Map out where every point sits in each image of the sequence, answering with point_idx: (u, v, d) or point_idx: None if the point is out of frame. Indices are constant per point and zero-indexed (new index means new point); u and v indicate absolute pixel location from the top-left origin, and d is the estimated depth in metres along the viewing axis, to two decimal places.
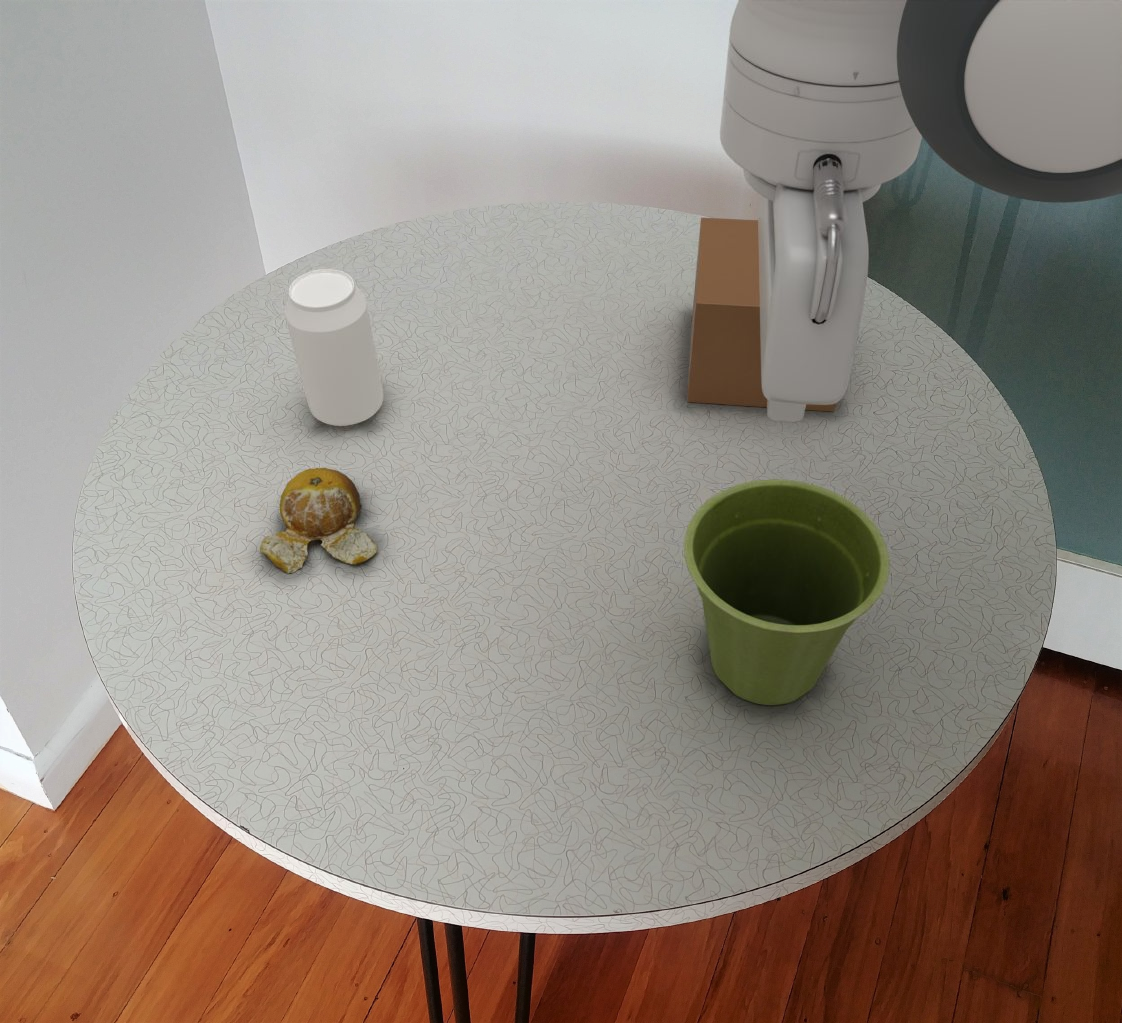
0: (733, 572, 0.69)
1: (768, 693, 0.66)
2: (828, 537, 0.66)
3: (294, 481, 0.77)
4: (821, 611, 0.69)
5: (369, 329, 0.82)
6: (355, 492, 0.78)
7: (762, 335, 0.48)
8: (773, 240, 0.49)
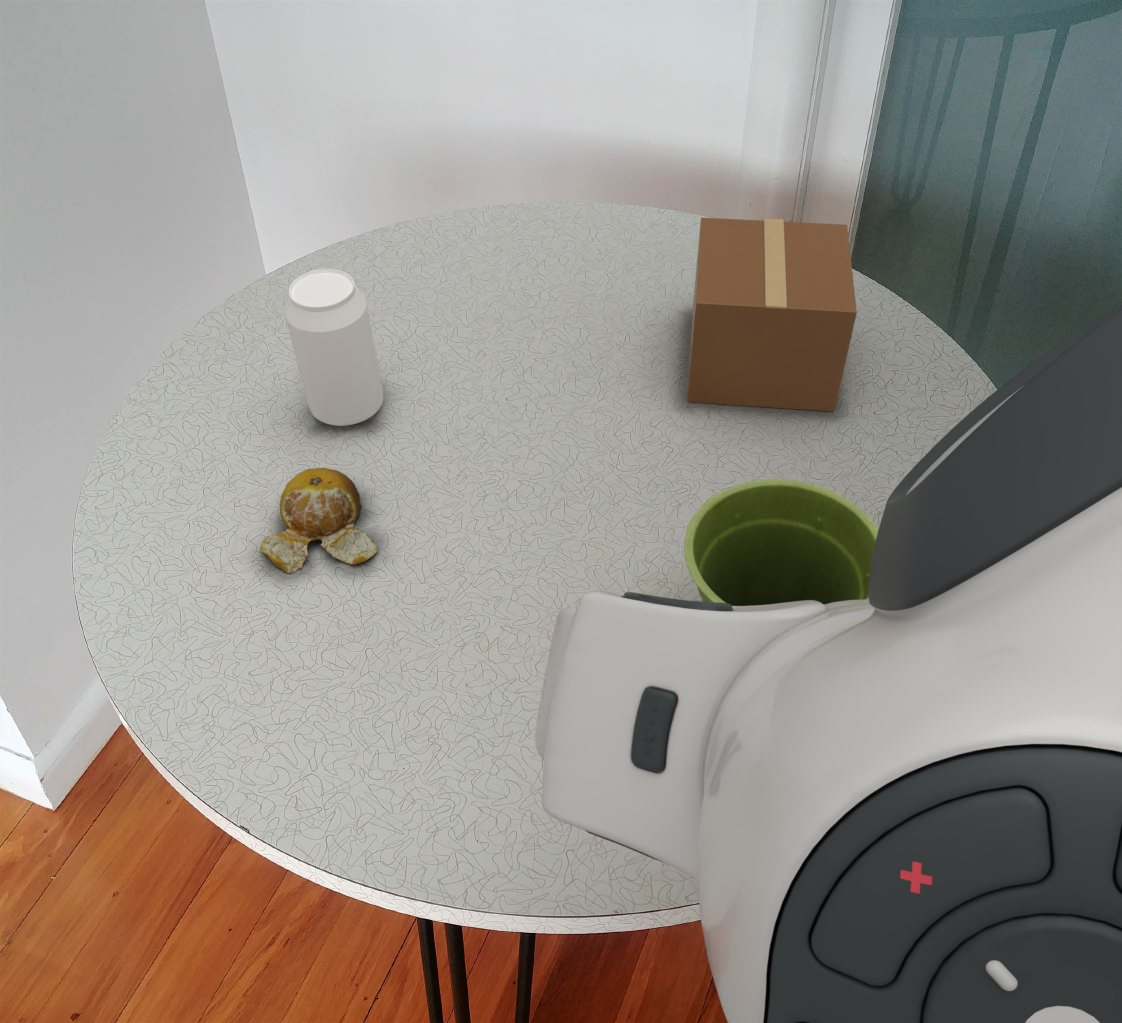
0: (733, 572, 0.69)
1: None
2: (829, 537, 0.66)
3: (294, 481, 0.77)
4: None
5: (369, 329, 0.82)
6: (355, 492, 0.78)
7: None
8: None
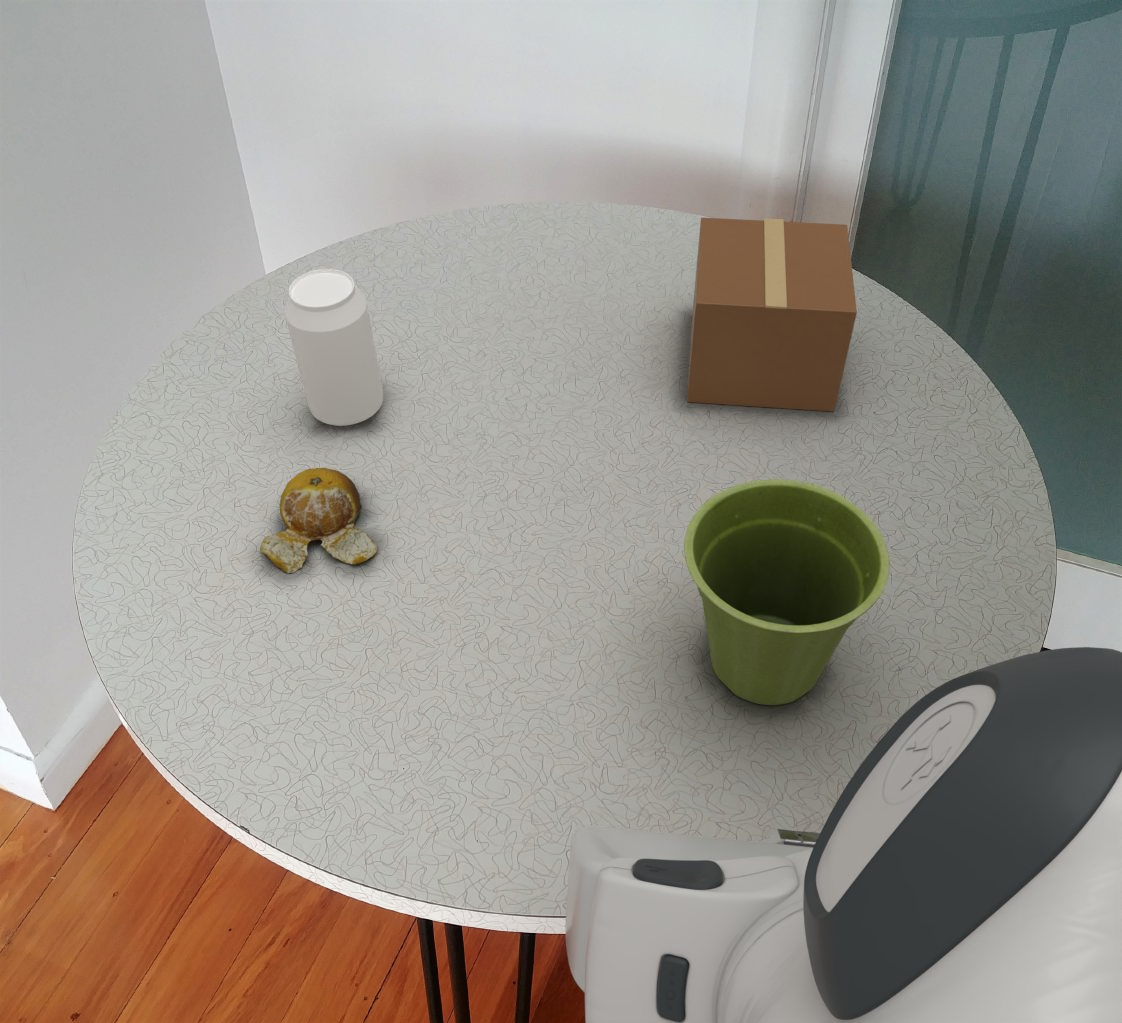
0: (733, 572, 0.69)
1: (768, 693, 0.66)
2: (829, 537, 0.66)
3: (294, 481, 0.77)
4: (821, 611, 0.69)
5: (369, 329, 0.82)
6: (355, 492, 0.78)
7: None
8: None
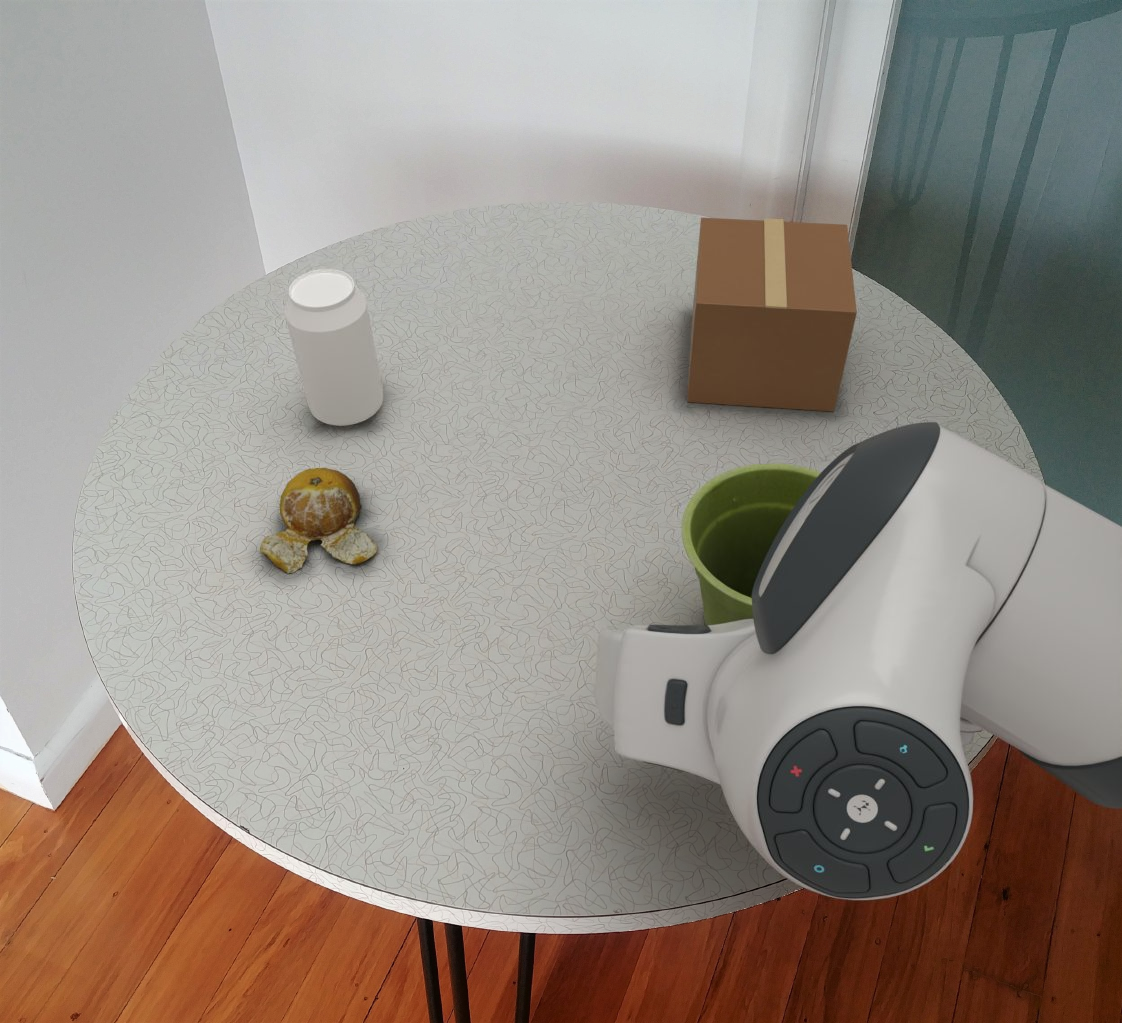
0: (731, 555, 0.70)
1: None
2: None
3: (294, 481, 0.77)
4: None
5: (369, 329, 0.82)
6: (355, 492, 0.78)
7: None
8: None
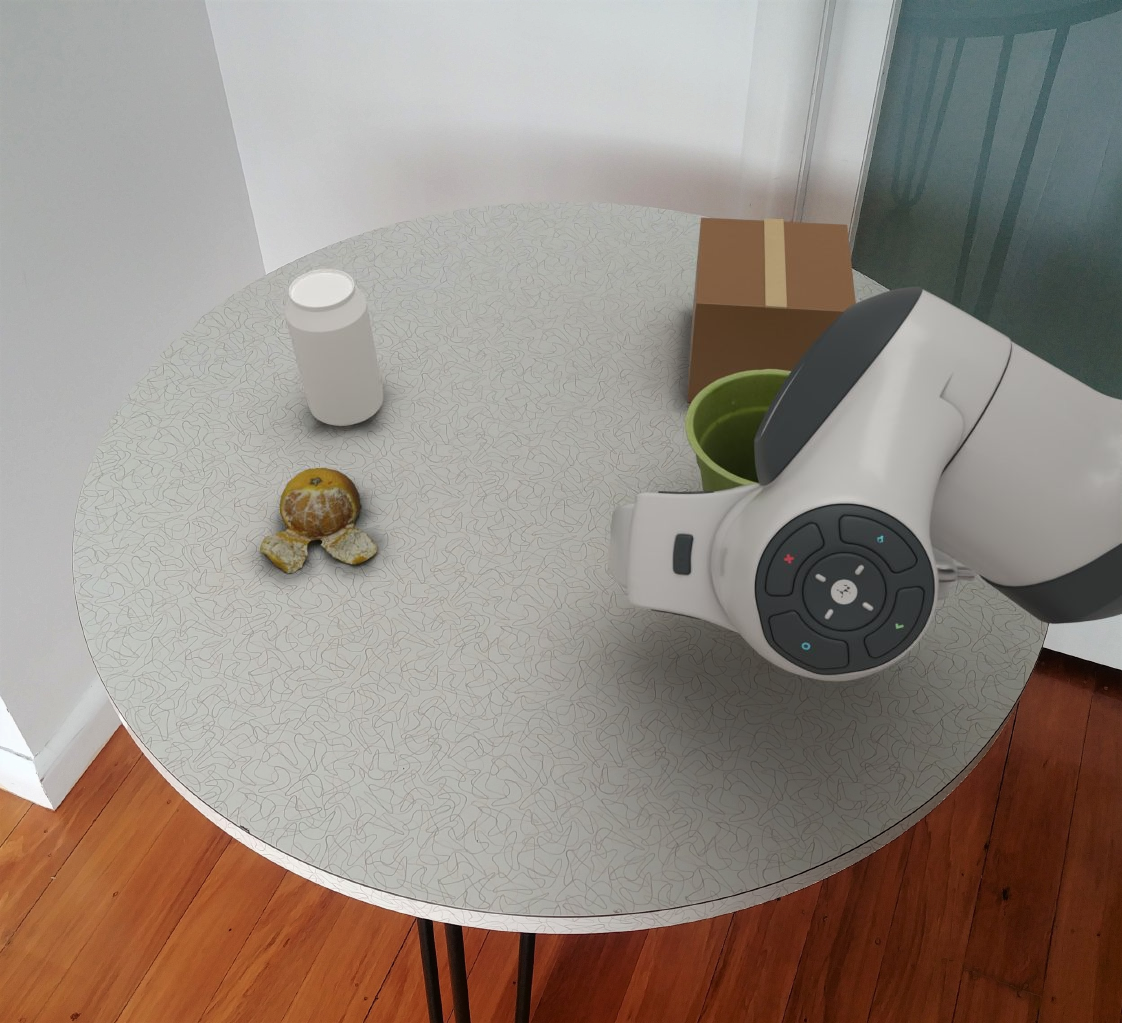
0: (730, 457, 0.76)
1: None
2: None
3: (294, 481, 0.77)
4: None
5: (369, 329, 0.82)
6: (355, 492, 0.78)
7: None
8: None
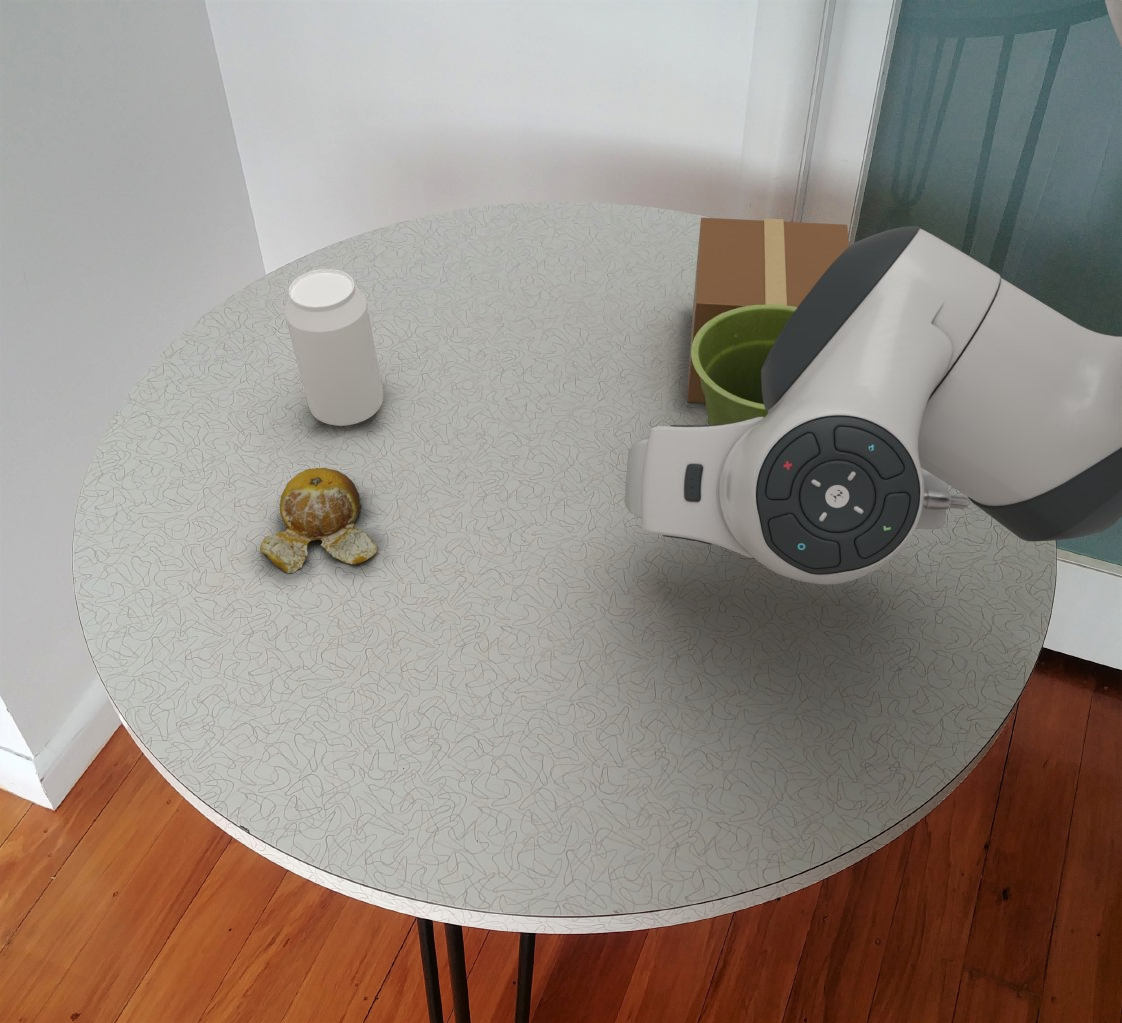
0: (732, 389, 0.81)
1: None
2: None
3: (294, 481, 0.77)
4: None
5: (369, 329, 0.82)
6: (355, 492, 0.78)
7: None
8: None
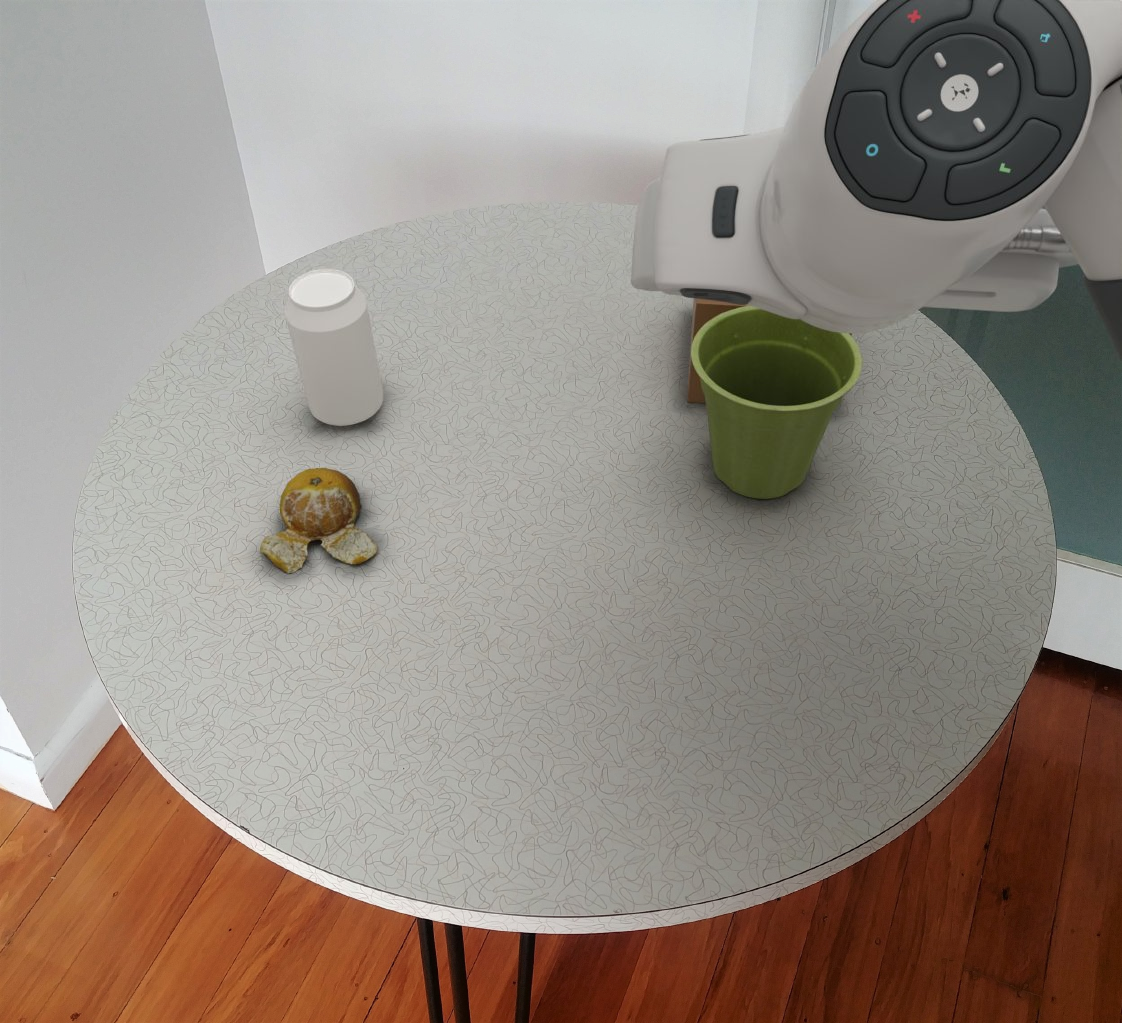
0: (732, 389, 0.81)
1: (761, 485, 0.78)
2: (813, 354, 0.79)
3: (294, 481, 0.77)
4: None
5: (369, 329, 0.82)
6: (355, 492, 0.78)
7: (960, 306, 0.53)
8: None
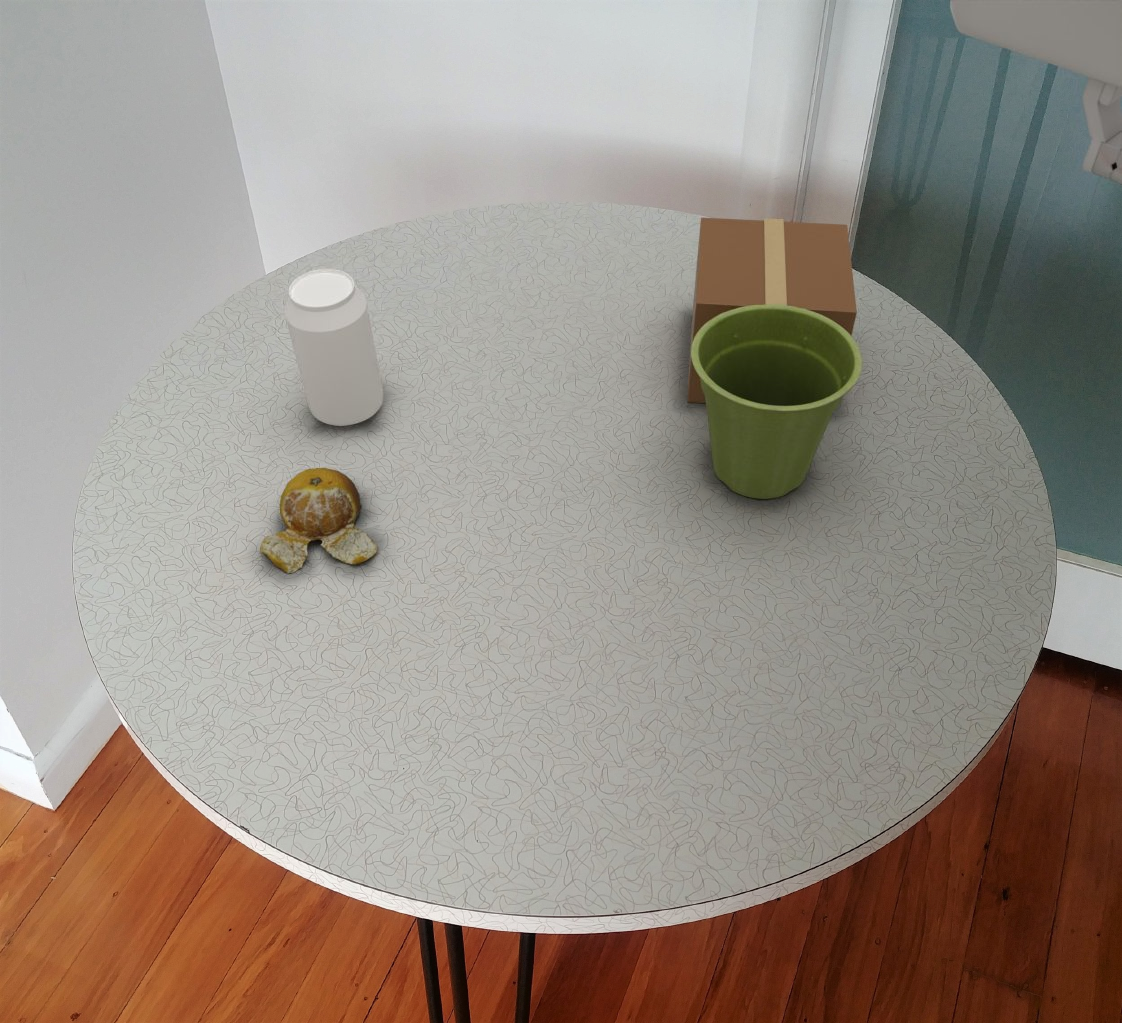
0: (732, 389, 0.81)
1: (761, 485, 0.78)
2: (813, 354, 0.79)
3: (294, 481, 0.77)
4: None
5: (369, 329, 0.82)
6: (355, 492, 0.78)
7: None
8: None
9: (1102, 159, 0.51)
